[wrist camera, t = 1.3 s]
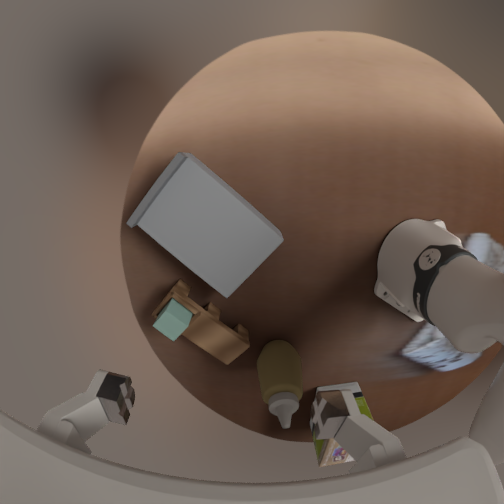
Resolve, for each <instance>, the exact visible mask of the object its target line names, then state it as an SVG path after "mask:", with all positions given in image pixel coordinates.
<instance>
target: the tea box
mask: <svg viewBox="0 0 504 504" xmlns="http://www.w3.org/2000/svg"><path fill="white" fill-rule="evenodd" d="M342 389H350V390H351V391H352V393H353V396H354V398H355V401H356V403H357V406H358V408H359V411H360V413H361V414H364V415H366V416H367V417H369V418H370V419H371V420H373V418H372V416H371V413H370V411H369V408H368V406H367V404H366V401H365V399H364V396H363V394H362V392H361V389H360V387H359V385H358V383H357V382H351V383H344V384H337V385H329V386H322V387H317V390H316V394H317V392H318V391H328V390H342ZM315 396H316V395H315ZM315 401H316V397H315ZM373 421H374V420H373ZM315 425H316V424H315V423H314V422H313V421H312V419H310V427H311V431H312V436H313V440H314V445H315V450H316V454H317V459H318V464H319V467H323V466H329V465H334V464H339V463H344V462H348V461H353V460H354V459H353V458H352V457H351V456H350V455H349V454H348V453H347V452H346V451H345V450H344V449H343V448H342V447H341V446H340V445H339V444H338V443H337V442H336V441H335V440H334V438H330V439H318V440H316V436H315V432H314V427H315Z"/></svg>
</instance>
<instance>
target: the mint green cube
mask: <svg viewBox="0 0 504 504" xmlns="http://www.w3.org/2000/svg"><path fill="white" fill-rule="evenodd" d="M192 314H193V313H192V312H191V311H190V310H188V309H187V308H186V307H184V306H183V305H182V304H180V303H179V302H178V301H177V300H175V299H174V298H172V299H171V300H170V301H169V302H168V304H167V305H166V306H165V307H164V308H163V309H162V311H161V312H160V313H159V315H158V317H157V319H156V321H155V323H154V324H153V327H155V328H156V329H157V330H159V331H160V332H161V333H163V334H164V335H165V336H167V337H168V338H170V339H171V340H172V341H175V340H176V339H177V338H178V336H179V335H180V334H181V333H182V332H183V331H184V330H185V329H186V328H187V327H188V325H189V323H190V320H191V317H192Z"/></svg>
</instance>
